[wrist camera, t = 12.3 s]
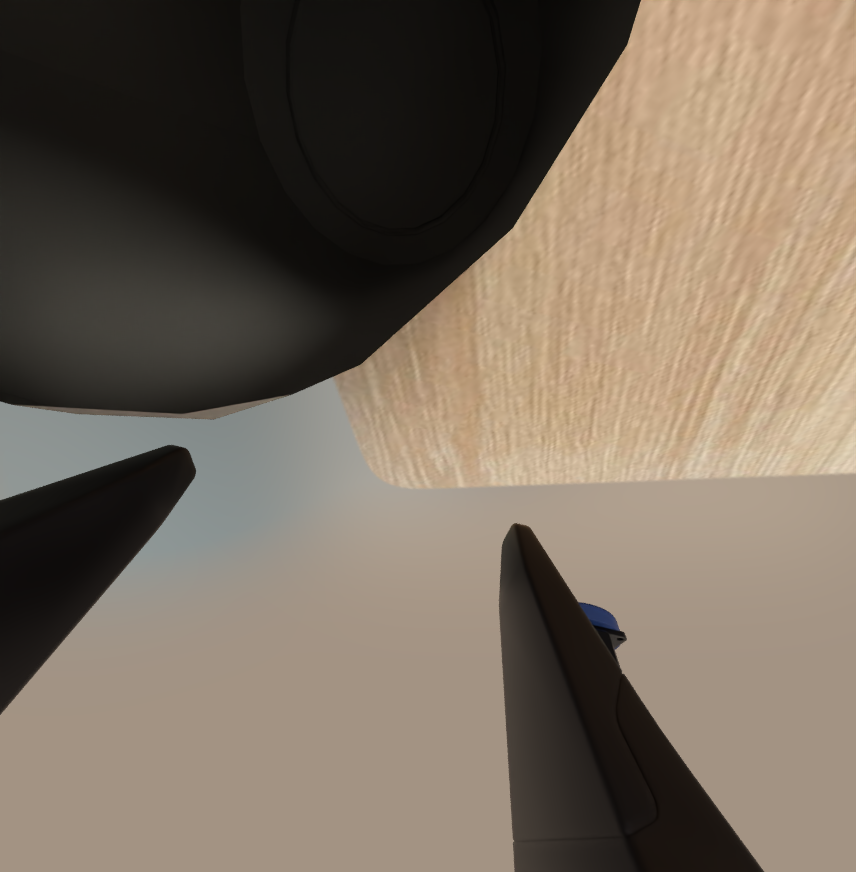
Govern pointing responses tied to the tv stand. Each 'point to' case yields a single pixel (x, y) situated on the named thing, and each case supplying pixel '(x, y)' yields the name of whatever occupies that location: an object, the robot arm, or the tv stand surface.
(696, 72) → the tv stand surface
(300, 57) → the can
